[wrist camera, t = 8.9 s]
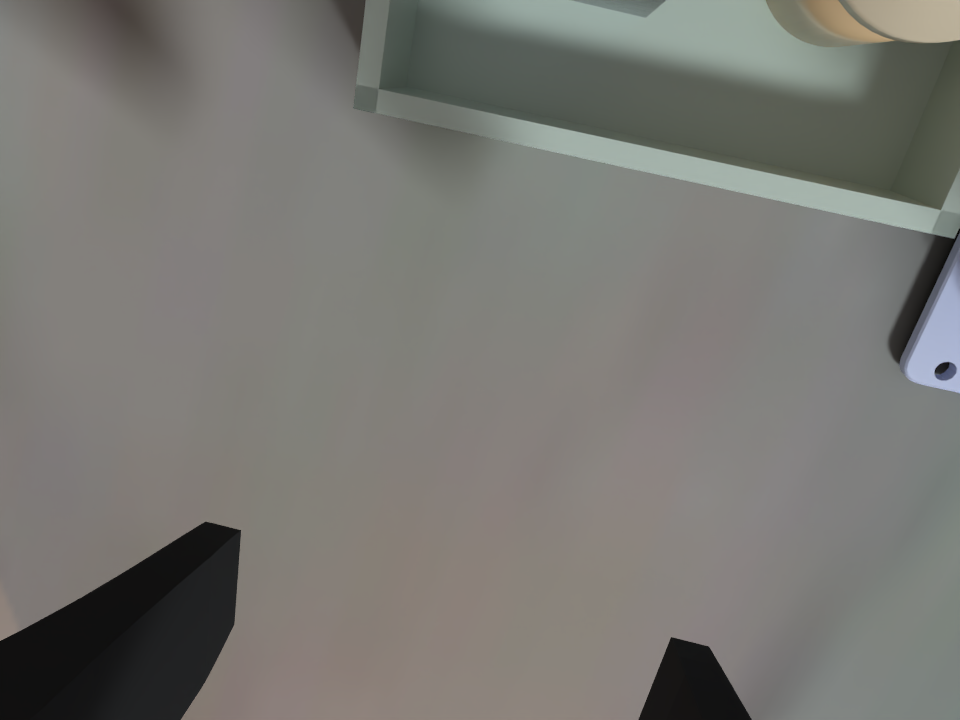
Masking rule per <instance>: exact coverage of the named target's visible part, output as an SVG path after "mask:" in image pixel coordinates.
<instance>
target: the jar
mask: <svg viewBox="0 0 960 720" xmlns="http://www.w3.org/2000/svg"><path fill="white" fill-rule="evenodd" d="M766 2H767V5H768V7H769V9H770V11H771V13H772V15H773V16H774V18H775V19H776V20H777V22H778V23H779V24H780V25H781V26H782V27H783V28H784V29H785V30H786V31H787V32H788V33H789V34H791V35H792V36H794V37H796V38H797V39H799V40H801V41H803V42H806V43H809V44H812V45H816V46H822V47H844V46H853V45H862V44H871V43H880V42H889V41H899V42H906V43H940V42H949V41H957V40H960V0H766Z"/></svg>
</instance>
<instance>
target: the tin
mask: <svg viewBox="0 0 960 720" xmlns="http://www.w3.org/2000/svg"><path fill="white" fill-rule="evenodd" d="M572 1H576V2H580V3H584V4H589V5H593V6H597V7H601V8H606V9H610V10H614V11H619V12H623V13H627V14H631V15H636V16H640V17H644V18H646V17H647V16H648V15H650V14H651V13H652V12H653V11H654V10H655V9H657V8H658V7H659V6H660V5H661V4H663V3H664V2H665V1H666V0H572Z"/></svg>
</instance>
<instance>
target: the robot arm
mask: <svg viewBox="0 0 960 720" xmlns="http://www.w3.org/2000/svg"><path fill="white" fill-rule="evenodd" d="M943 362H949V368H948V369H947V370H946V371H945V372H944V373H942V374H940V375H934V372H935V368H936V367H937V366H938V365H939V364H941V363H943ZM899 365H900V369H901V372H902V373H903V374H904V375H905V376H906V377H907V378H908V379H909V380H910V381H913V382H915V383H918V384H922V385H926V386H931V387H935V388H940V389H944V390H948V391H953V392H957V393H960V233H959V235H958V237H957V239H956V241H955V243H954V246H953V248H952V250H951V252H950V254H949V256H948V258H947V261H946V263H945V265H944V267H943V269H942V271H941V273H940V275H939V278H938V280H937V282H936V284H935V286H934V288H933V290H932V292H931V295H930V297H929V299H928V301H927V303H926V305H925V307H924V310H923V312H922V314H921V316H920V318H919V320H918V322H917V324H916V327H915V329H914V331H913V333H912V335H911V337H910V339H909V341H908V344H907V346H906V348H905V350H904V352H903V354H902V356H901V360H900V364H899ZM240 537H241V530H238V529H233V528H229V527H225V526H221V525H217V524H213V523H209V522H204V523H203V524H201V525H199V526H198V527H196V528H194V529H193V530H191V531H189V532H188V533H186V534H185V535H183V536H181V537H180V538H178V539H177V540H175V541H173V542H172V543H170V544H169V545H167V546H165V547H164V548H162V549H161V550H159V551H157V552H156V553H154V554H153V555H151V556H149V557H148V558H146V559H145V560H143V561H141V562H140V563H138V564H137V565H135V566H133V567H132V568H130V569H129V570H127V571H125V572H124V573H122V574H120V575H119V576H117V577H115V578H114V579H112V580H110V581H109V582H107V583H105V584H103V585H102V586H100V587H98V588H97V589H95V590H93V591H92V592H90V593H88V594H87V595H85V596H83V597H82V598H80V599H78V600H76V601H75V602H73V603H71V604H69V605H67V606H65V607H63V608H62V609H60V610H58V611H56V612H54V613H52V614H51V615H49V616H47V617H45V618H43V619H41V620H40V621H38V622H36V623H34V624H32V625H30V626H29V627H27V628H25V629H23V630H21V631H19V632H17V633H15V634H13V635H11V636H9V637H7V638H5V639H3V640H1V641H0V720H181V718H182V717H183V715H184V714H185V712H186V711H187V709H188V708H189V706H190V705H191V703H192V701H193V700H194V698H195V697H196V695H197V694H198V692H199V691H200V689H201V688H202V686H203V684H204V683H205V681H206V679H207V677H208V675H209V673H210V672H211V670H212V668H213V666H214V664H215V662H216V660H217V658H218V656H219V654H220V652H221V650H222V648H223V646H224V644H225V642H226V640H227V638H228V636H229V634H230V632H231V630H232V628H233V626H234V621H235V607H236V593H237V579H238V565H239V551H240ZM639 720H752V719H751V718H750V716H749V714H748V713H747V711H746V709H745V707H744V706H743V704H742V702H741V701H740V699H739V697H738V695H737V694H736V692H735V690H734V689H733V687H732V685H731V683H730V682H729V680H728V678H727V676H726V675H725V673H724V671H723V670H722V668H721V666H720V664H719V663H718V661H717V659H716V658H715V656H714V654H713V653H712V651H711V649H710V648H709V647H708V646H704V645H700V644H696V643H692V642H688V641H684V640H680V639H676V638H672V637H671V639H670V642H669V644H668V647H667V649H666V652H665V654H664V657H663V659H662V662H661V664H660V667H659V669H658V672H657V674H656V677H655V679H654V682H653V684H652V687H651V689H650V692H649V695H648V697H647V700H646V702H645V705H644V707H643V710H642V712H641V715H640V717H639Z"/></svg>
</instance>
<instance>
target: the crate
mask: <svg viewBox="0 0 960 720" xmlns="http://www.w3.org/2000/svg"><path fill="white" fill-rule="evenodd" d="M353 108H354V109H358V110H363V111H367V112H372V113H377V114H381V115H386V116H390V117H395V118H400V119H404V120H409V121H413V122H418V123H423V124H427V125H432V126H437V127H441V128H446V129H450V130H455V131H460V132H464V133H469V134H473V135H478V136H483V137H487V138H492V139H496V140H501V141H506V142H510V143H515V144H520V145H524V146H529V147H533V148H538V149H543V150H547V151H552V152H556V153H561V154H566V155H570V156H575V157H579V158H584V159H589V160H593V161H598V162H602V163H607V164H612V165H616V166H621V167H626V168H630V169H635V170H639V171H644V172H649V173H653V174H658V175H662V176H667V177H672V178H676V179H681V180H685V181H690V182H695V183H699V184H704V185H709V186H713V187H718V188H722V189H727V190H732V191H736V192H741V193H745V194H750V195H755V196H759V197H764V198H768V199H773V200H778V201H782V202H787V203H791V204H796V205H801V206H805V207H810V208H815V209H819V210H824V211H828V212H833V213H838V214H842V215H847V216H851V217H856V218H861V219H865V220H870V221H874V222H879V223H884V224H888V225H893V226H898V227H902V228H907V229H911V230H916V231H921V232H925V233H930V234H934V235H939V236H944V237H948V238H953V239H954V238H955V236H956V234H957V232H958V230H959V228H960V40H957V41H949V42H940V43H906V42H899V41H889V42H880V43H871V44H862V45H853V46H844V47H822V46H816V45H812V44H809V43H806V42H803V41H801V40H799V39H797V38H796V37H794V36H792V35H791V34H789V33H788V32H787V31H786V30H785V29H784V28H783V27H782V26H781V25H780V24H779V23H778V22H777V20H776V19H775V18H774V16H773V15H772V13H771V11H770V9H769V7H768V5H767V2H766V0H666V1H665V2H664V3H663V4H661V5H660V6H659V7H658V8H657V9H655V10H654V11H653V12H652V13H651V14H650V15H648V16H647V17H646V18H644V17H640V16H636V15H631V14H627V13H623V12H619V11H614V10H610V9H606V8H601V7H597V6H593V5H589V4H584V3H580V2H576V1H572V0H366V3H365V12H364V20H363V29H362V38H361V46H360V55H359V64H358V73H357V81H356V90H355V99H354V107H353Z"/></svg>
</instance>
